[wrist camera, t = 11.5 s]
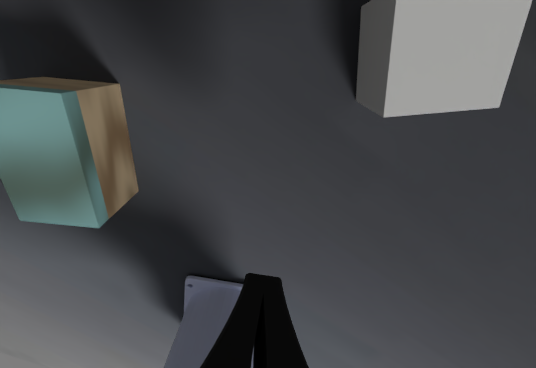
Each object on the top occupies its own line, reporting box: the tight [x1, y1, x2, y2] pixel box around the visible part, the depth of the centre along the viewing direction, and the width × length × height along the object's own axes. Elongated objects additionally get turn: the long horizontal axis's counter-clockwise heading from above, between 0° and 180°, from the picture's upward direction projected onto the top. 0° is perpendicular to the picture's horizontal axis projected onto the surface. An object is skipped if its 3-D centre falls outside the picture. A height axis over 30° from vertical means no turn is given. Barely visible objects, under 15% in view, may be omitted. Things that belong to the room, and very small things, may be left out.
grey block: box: [356, 0, 532, 117], centre depth 12 cm, size 5×5×5 cm
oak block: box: [0, 77, 139, 228], centre depth 16 cm, size 8×5×5 cm, turn 175°
